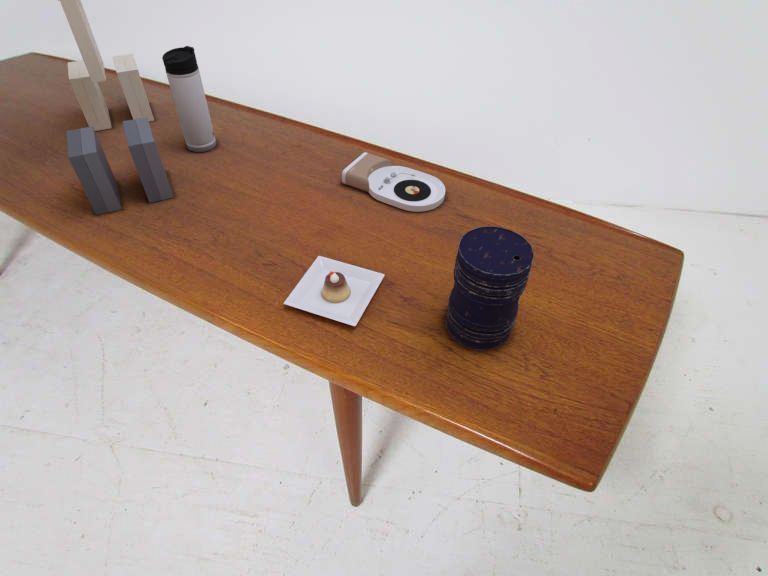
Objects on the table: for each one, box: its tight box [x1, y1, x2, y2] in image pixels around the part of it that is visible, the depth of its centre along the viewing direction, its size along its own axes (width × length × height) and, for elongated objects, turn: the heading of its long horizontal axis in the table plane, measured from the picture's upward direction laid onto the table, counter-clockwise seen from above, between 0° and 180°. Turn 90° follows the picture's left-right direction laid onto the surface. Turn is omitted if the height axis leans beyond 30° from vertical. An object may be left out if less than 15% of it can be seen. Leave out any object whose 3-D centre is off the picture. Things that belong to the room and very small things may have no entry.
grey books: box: [66, 117, 174, 216], centre depth 93 cm, size 14×10×12 cm
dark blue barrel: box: [445, 225, 535, 351], centre depth 70 cm, size 10×10×15 cm
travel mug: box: [161, 45, 217, 153], centre depth 103 cm, size 6×7×20 cm
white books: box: [67, 53, 155, 132], centre depth 115 cm, size 14×10×12 cm
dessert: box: [283, 255, 386, 327], centre depth 77 cm, size 12×12×5 cm
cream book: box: [59, 0, 107, 83], centre depth 93 cm, size 2×10×19 cm, turn 25°
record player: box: [341, 151, 446, 213], centre depth 99 cm, size 12×3×20 cm
